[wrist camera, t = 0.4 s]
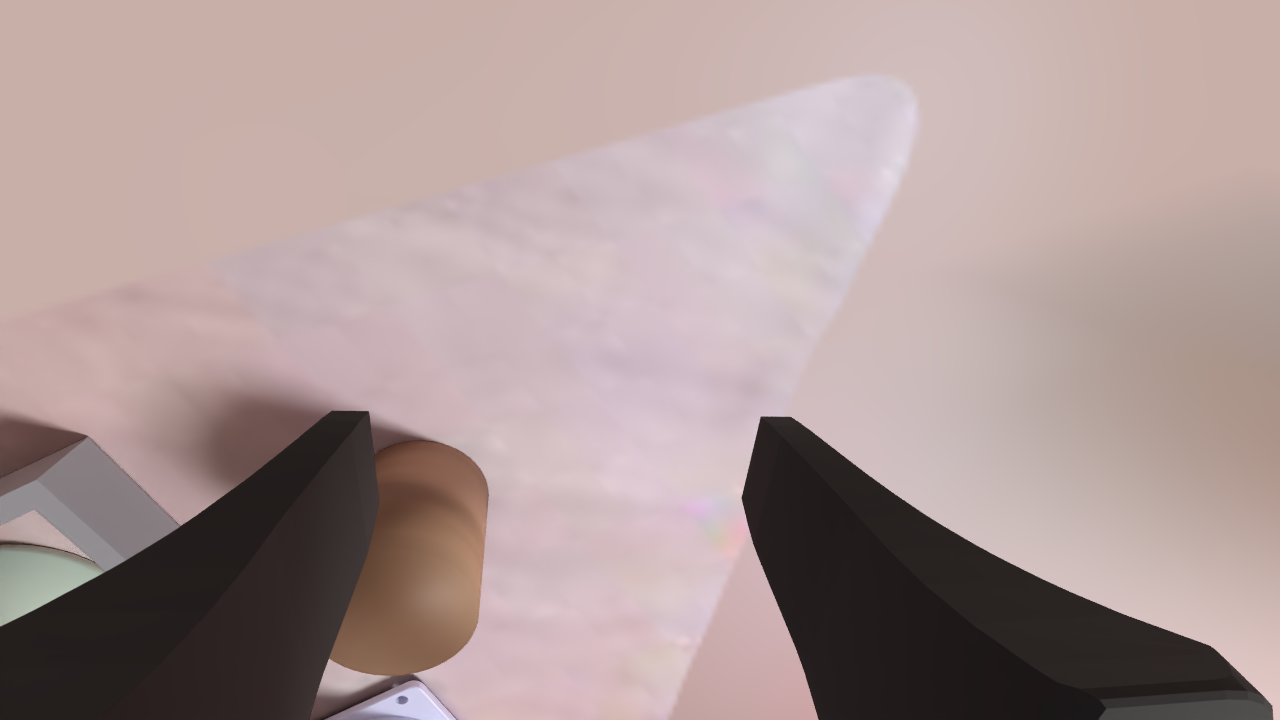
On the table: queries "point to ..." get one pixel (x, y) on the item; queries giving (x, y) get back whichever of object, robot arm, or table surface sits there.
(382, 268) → the table surface
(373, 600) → the walnut cylinder
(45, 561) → the coaster
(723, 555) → the table surface
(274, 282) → the table surface
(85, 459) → the grey rectangular frame
